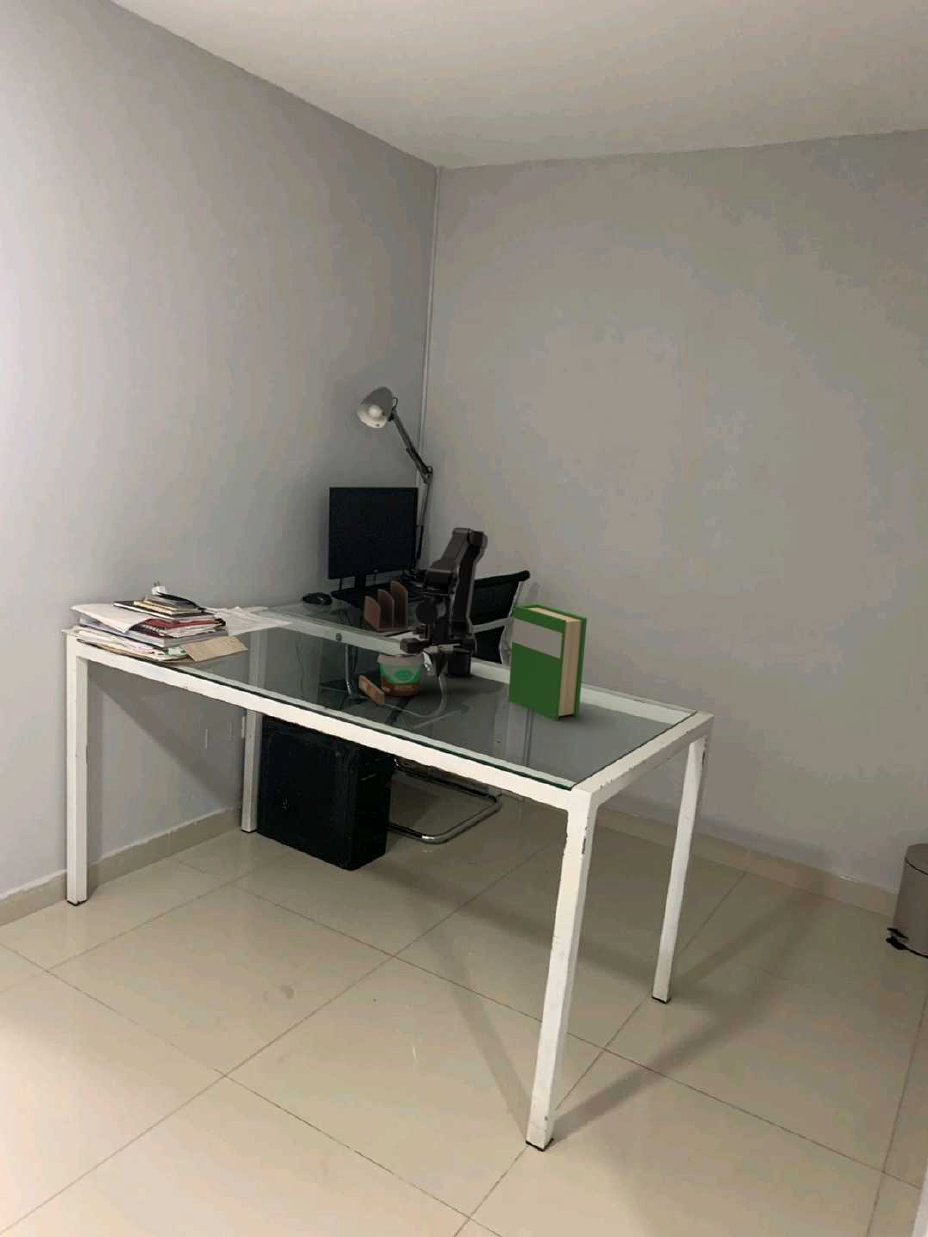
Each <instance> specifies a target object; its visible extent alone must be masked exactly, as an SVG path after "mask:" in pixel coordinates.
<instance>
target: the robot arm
mask: <svg viewBox="0 0 928 1237" xmlns="http://www.w3.org/2000/svg"><path fill="white" fill-rule="evenodd" d="M488 542H489V538H488V535H487V534H485V532H484V531H483V530H475V529H471V527H461V526H457V527H454V528H453V530H452V533H451V538H450V540H449V542H448V543H447V546H446V547H445V550H444V551H443V553H442V555H441V557H440V558H439V559H437V560H434V561H433V562H432V563H431V564H430V566H429V567H428V569H427V570H426V572H425V575H424V577H423V582H422V585H421V589H420V593H419V594H420V595H421V596H424V597H423V600H422V601H421V602H419V603H417V604H418V605H416V608H415V611H414V612H415V617H416V619H417V621H416V622H412V625H411V626H412V627H411V630H412V636H418V638H419V639H418V638H416V637H405V638H404V637H403V638H402V639H401V640H400V642H399V650H401V651H402V652H404V654H420V653H421V652H423V654H426V655H427V656H428V658H429V661H430V664H431V666H432V671H433V673H434V676H435V678H437V679H438V678H440V676H441V675H442V672H443V673H444V674H446V675H447V676H449V677H450V678H459V677H460V678H462V677H472V676H473V677H474V673H472V671H471V668H472V666H471V665H472V656H473V655H477V650H478V649H477V646H478V642H477V641H476V636H475V634H474V629H475V628H474V625H473V623H472V621H471V619H470V613H471V607H472V600H473V599H472V597H473V594H474V592H473V590H474V586H475V585H474V584H475V578H476V571H477V564H478V563H479V562H480V561H481V560H482V558H483V557H484V555H485V551H486V549H487V548H488ZM453 596H454V598H453ZM452 603H453V606H452Z"/></svg>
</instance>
